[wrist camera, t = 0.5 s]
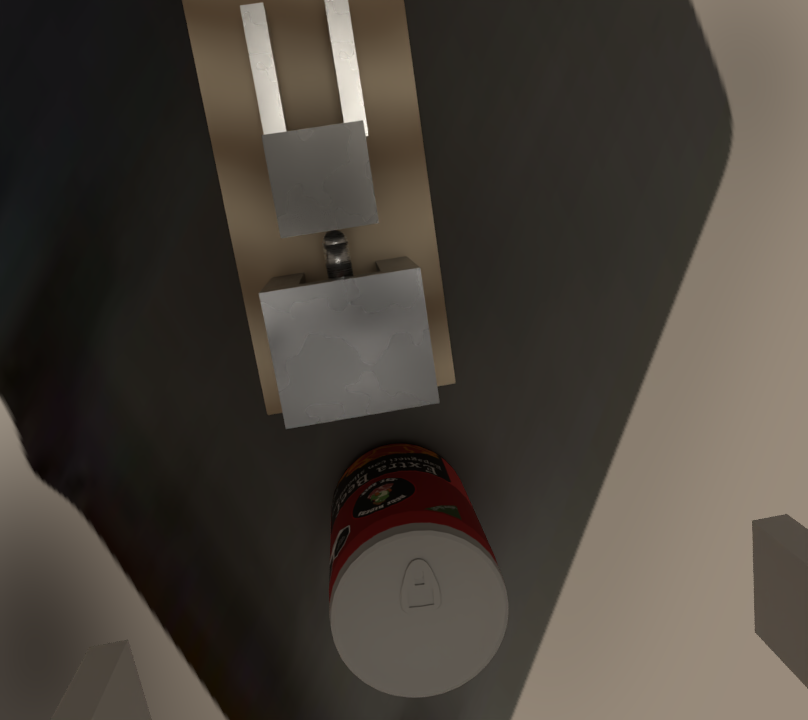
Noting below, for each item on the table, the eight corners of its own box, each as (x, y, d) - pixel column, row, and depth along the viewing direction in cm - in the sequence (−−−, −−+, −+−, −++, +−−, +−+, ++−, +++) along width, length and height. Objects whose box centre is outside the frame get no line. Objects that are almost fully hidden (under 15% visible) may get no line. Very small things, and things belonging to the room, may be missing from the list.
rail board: (159, -136, 31) (150, -153, 30) (377, -163, 32) (379, -181, 30) (270, 406, 37) (267, 414, 36) (451, 376, 38) (455, 383, 37)
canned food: (438, 418, 39) (476, 502, 28) (483, 539, 40) (534, 661, 30) (309, 467, 38) (298, 570, 28) (360, 586, 40) (368, 725, 30)
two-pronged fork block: (245, 17, 31) (209, -53, 23) (346, 3, 32) (348, -71, 23) (318, 406, 36) (311, 472, 27) (405, 391, 36) (427, 452, 27)
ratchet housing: (272, 277, 34) (258, 293, 29) (406, 256, 35) (420, 267, 29) (294, 391, 36) (285, 429, 30) (423, 370, 36) (439, 402, 30)
